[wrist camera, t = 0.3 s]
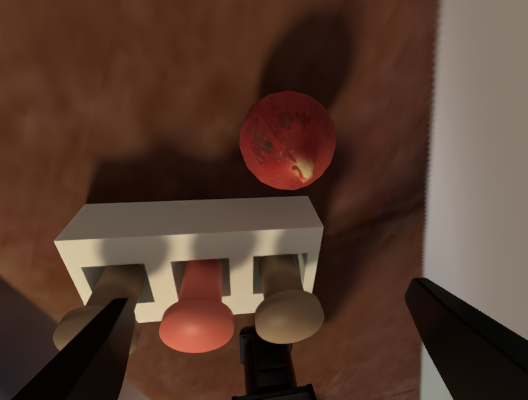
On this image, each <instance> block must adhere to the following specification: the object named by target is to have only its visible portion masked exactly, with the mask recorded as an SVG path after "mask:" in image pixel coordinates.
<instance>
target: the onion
mask: <svg viewBox="0 0 528 400" xmlns="http://www.w3.org/2000/svg"><path fill="white" fill-rule="evenodd" d="M239 147H240V150H241V153H242V155H243V158H244V160H245V163H246V165H247V168H248V169H249V170H250V171H251V172H252V173H253V174H254V175H255V176H256V177H257V178H258V179H259V180H260V181H261V182H262V183H265V184H267V185H269V186H272V187H274V188H277V189H287V190H296V189H299V188H302V187H305V186H308V185H310V184H311V183H312V182H314V181H315V180H316V179H318V178H319V177H321V175H322V174H323V173H324V171H325V170H326V169H327V167H328V166H329V165H330V163H331V161H332V157H333V154H334V151H335V147H336V138H335V126H334V122H333V120H332V119H331V117H330V116H329V114H328V112H327V111H326V109H325V108H324V106H323V105H322V104H321V103H319V102H318V101H316V100H315V99H313V98H312V97H310V96H309V95H307V94H303V93H298V92H294V91H282V92H277V93H272V94H268V95H267V96H265V97H264V98H262V99H261V100H259V101H258V102H257V103H255V104H254V105H252V107H251V108H250V110H249V112H248V114H247V115H246V117H245V119H244V121H243V122H242V125H241V131H240V144H239Z"/></svg>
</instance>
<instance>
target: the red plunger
mask: <svg viewBox="0 0 528 400" xmlns="http://www.w3.org/2000/svg"><path fill="white" fill-rule="evenodd" d="M233 333H234V316H233V313H232V311H231V309H230V308H229V307H228V306H227V305H226V304H224V303H222V264H221V262H220V261H219V260H218V259H203V260H188V261H187V262H186V264H185V267H184V273H183V278H182V284H181V289H180V295H179V300H178V302H176V303H174V304H172V305H171V306H170V307H169V308H167V309H166V311H165V312H164V314H163V317H162V321H161V325H160V329H159V334H160V337H161V339H162V341H163V342H164V343H165V344H166V345H168V346H169V347H171V348H173V349H175V350H178V351H182V352H189V353H200V352H207V351H211V350H214V349H217V348H219V347H221V346H223V345H224V344H226V343H227V342H228V341H229V340H230V339H231V337H232V335H233Z"/></svg>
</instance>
